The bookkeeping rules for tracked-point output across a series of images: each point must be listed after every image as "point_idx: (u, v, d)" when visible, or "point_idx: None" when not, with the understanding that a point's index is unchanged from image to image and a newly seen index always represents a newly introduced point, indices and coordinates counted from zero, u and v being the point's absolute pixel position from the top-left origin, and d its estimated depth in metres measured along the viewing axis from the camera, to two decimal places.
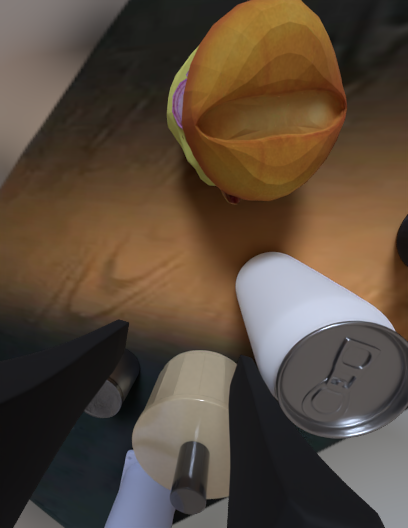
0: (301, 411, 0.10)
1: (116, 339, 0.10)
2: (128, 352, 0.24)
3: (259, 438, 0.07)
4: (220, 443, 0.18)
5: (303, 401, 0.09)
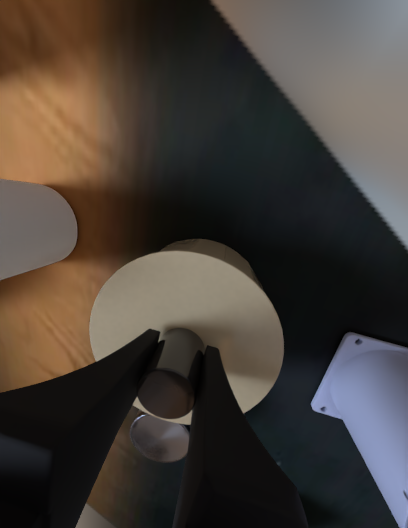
0: None
1: (151, 349, 0.10)
2: None
3: (202, 421, 0.07)
4: (156, 311, 0.12)
5: None
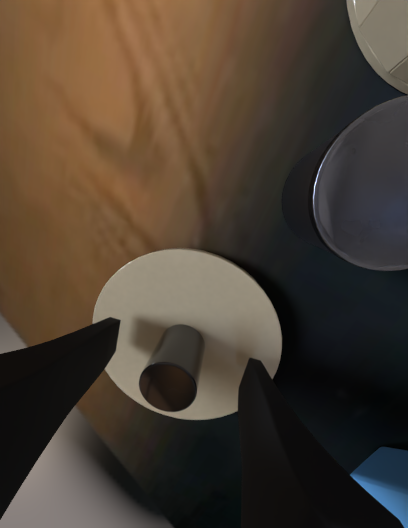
0: None
1: (106, 336, 0.10)
2: (303, 158, 0.10)
3: (274, 443, 0.07)
4: (158, 308, 0.12)
5: None
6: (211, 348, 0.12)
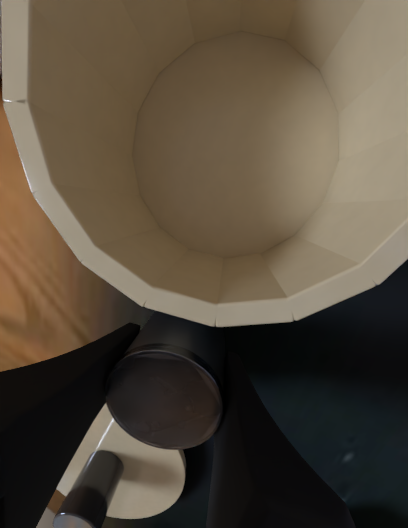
0: None
1: (128, 343, 0.10)
2: None
3: (237, 431, 0.07)
4: None
5: None
6: (129, 464, 0.15)
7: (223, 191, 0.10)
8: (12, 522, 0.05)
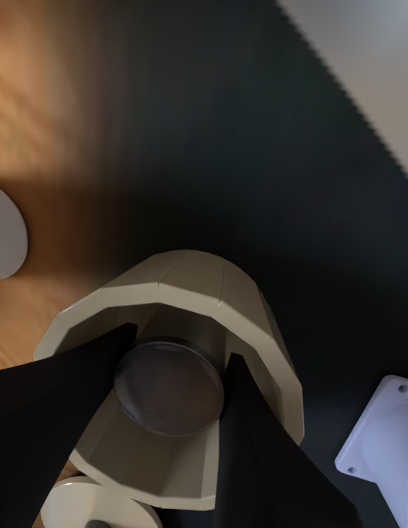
0: None
1: (126, 342, 0.10)
2: None
3: (243, 433, 0.07)
4: (77, 512, 0.18)
5: None
6: None
7: None
8: (8, 520, 0.05)
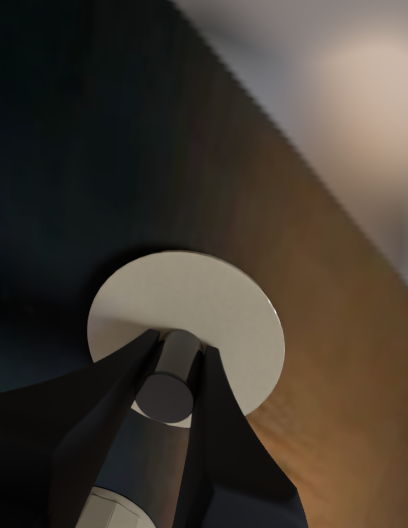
0: None
1: (151, 349, 0.10)
2: None
3: (202, 421, 0.07)
4: None
5: None
6: None
7: None
8: None
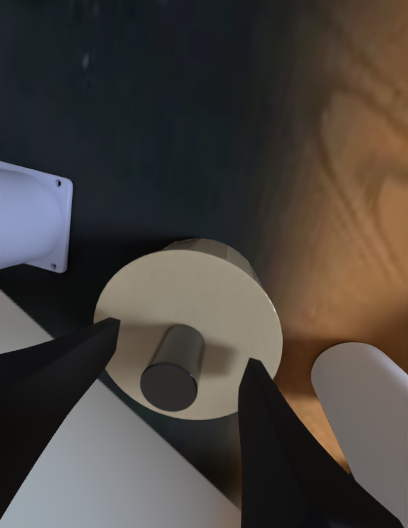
0: None
1: (106, 336, 0.10)
2: None
3: (274, 443, 0.07)
4: (213, 373, 0.13)
5: None
6: (155, 345, 0.13)
7: None
8: None
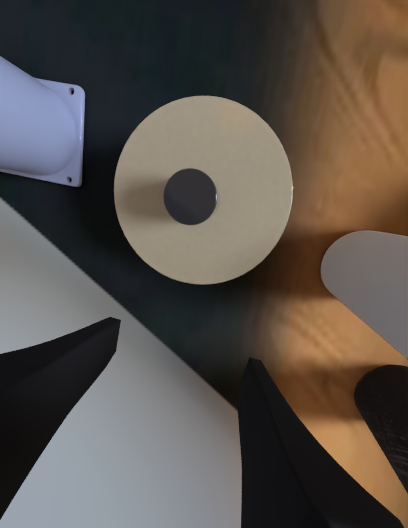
0: None
1: (106, 336, 0.10)
2: None
3: (274, 442, 0.07)
4: (228, 228, 0.14)
5: None
6: None
7: None
8: None
